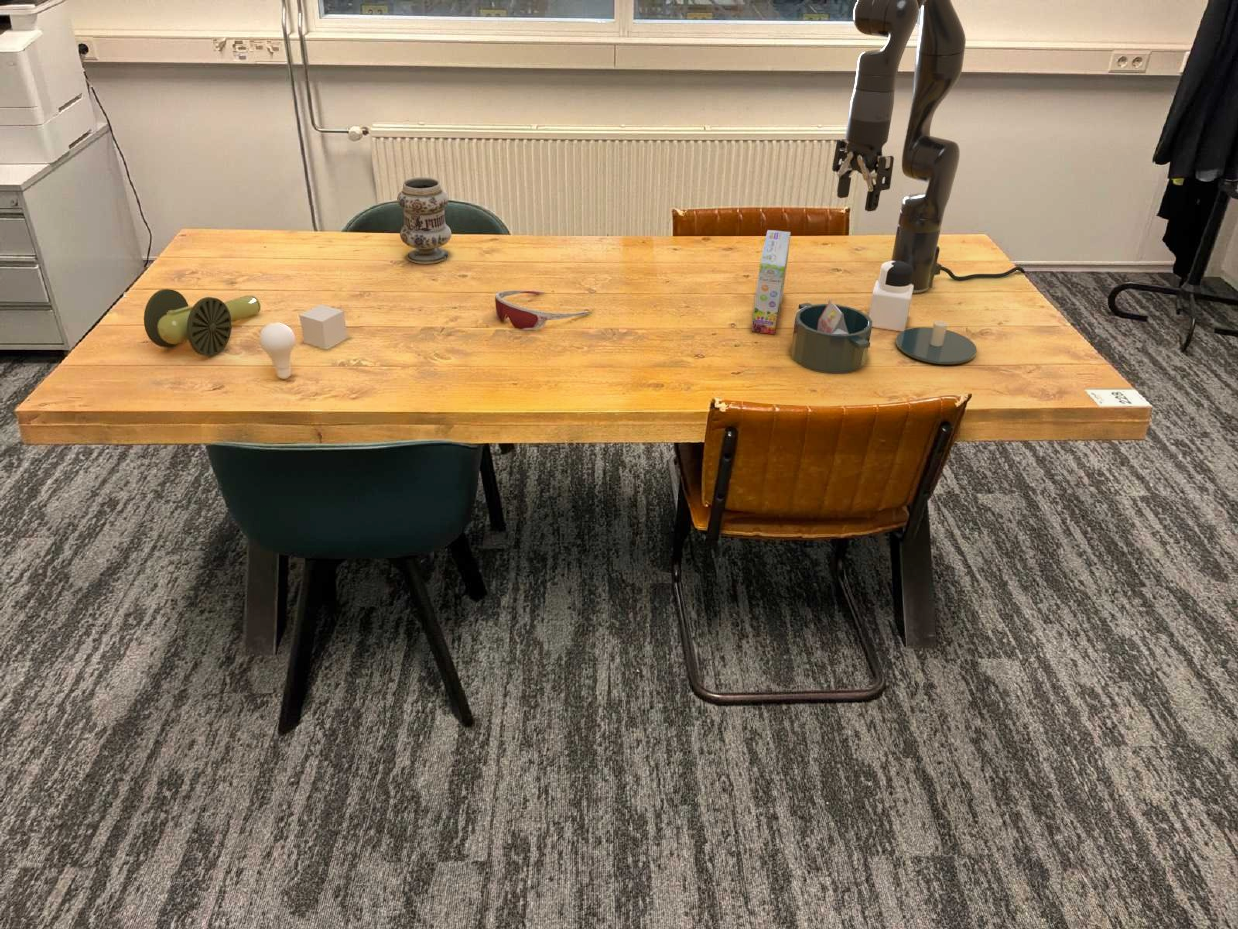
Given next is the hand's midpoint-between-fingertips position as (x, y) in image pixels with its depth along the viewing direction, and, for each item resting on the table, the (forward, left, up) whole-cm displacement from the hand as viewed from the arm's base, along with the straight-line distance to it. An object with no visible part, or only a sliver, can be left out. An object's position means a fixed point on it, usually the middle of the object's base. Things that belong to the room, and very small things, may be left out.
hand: (856, 203), depth 178 cm
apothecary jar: (+64, -76, -28) cm, 103 cm away
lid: (-16, +12, -28) cm, 34 cm away
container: (-15, -2, -28) cm, 32 cm away
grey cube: (+95, -40, -28) cm, 107 cm away
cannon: (+115, -50, -28) cm, 129 cm away
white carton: (+6, +6, -28) cm, 29 cm away
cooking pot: (+6, +6, -28) cm, 29 cm away
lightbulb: (+105, -27, -28) cm, 112 cm away
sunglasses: (+52, -35, -28) cm, 69 cm away
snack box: (+6, -16, -28) cm, 33 cm away
